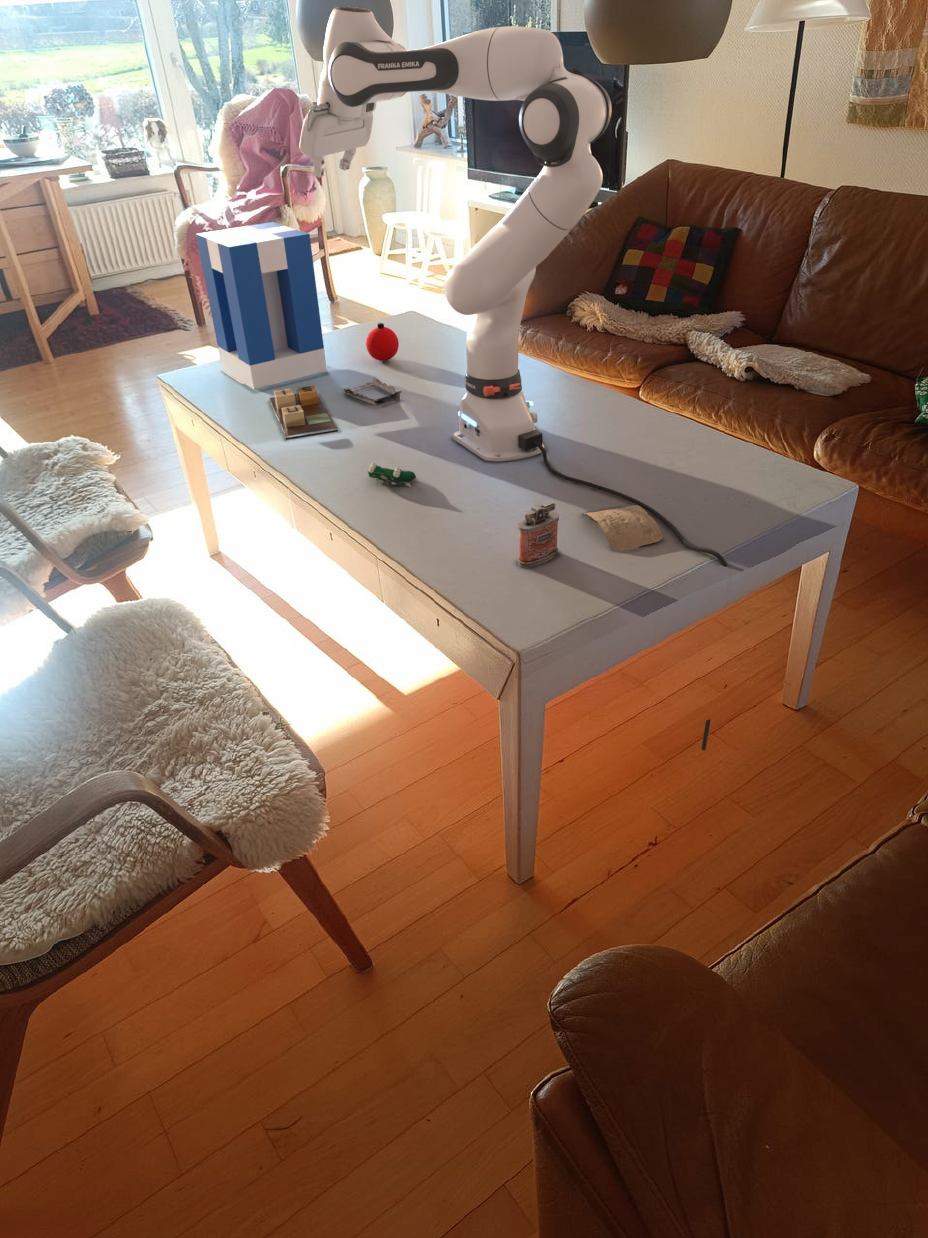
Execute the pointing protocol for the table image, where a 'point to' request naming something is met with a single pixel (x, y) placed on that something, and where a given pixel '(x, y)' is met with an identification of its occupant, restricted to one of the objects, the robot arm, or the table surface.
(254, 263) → the toy block
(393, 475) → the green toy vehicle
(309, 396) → the letter s tile
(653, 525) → the clay tablet
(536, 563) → the lighter
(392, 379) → the table surface
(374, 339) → the ornament
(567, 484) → the table surface
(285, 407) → the letter board
